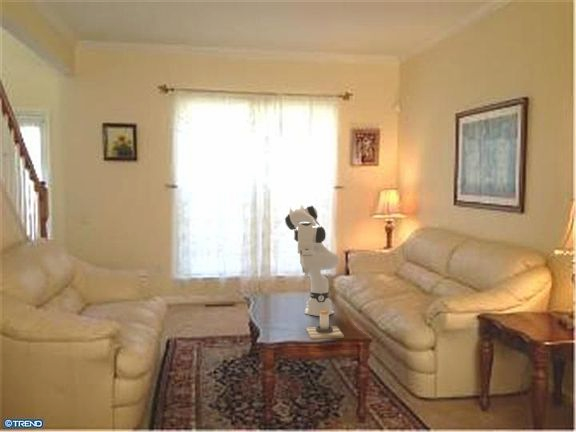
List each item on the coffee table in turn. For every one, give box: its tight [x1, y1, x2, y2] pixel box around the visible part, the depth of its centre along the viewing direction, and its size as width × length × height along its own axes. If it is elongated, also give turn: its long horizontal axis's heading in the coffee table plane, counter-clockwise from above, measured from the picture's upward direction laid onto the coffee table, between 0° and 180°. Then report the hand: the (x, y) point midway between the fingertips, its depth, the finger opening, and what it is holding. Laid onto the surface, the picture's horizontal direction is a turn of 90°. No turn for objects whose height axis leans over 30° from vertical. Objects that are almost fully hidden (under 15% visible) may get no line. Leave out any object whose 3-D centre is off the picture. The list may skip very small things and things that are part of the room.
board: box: [305, 325, 345, 340], centre depth 292 cm, size 18×18×3 cm
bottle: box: [319, 310, 330, 329], centre depth 292 cm, size 5×5×11 cm
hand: (305, 274), depth 302 cm, fingers open, 8 cm apart
